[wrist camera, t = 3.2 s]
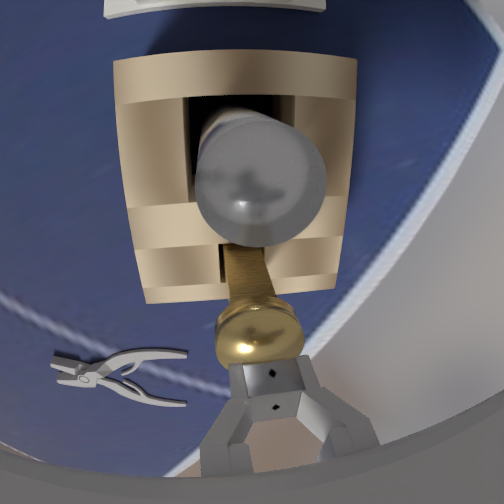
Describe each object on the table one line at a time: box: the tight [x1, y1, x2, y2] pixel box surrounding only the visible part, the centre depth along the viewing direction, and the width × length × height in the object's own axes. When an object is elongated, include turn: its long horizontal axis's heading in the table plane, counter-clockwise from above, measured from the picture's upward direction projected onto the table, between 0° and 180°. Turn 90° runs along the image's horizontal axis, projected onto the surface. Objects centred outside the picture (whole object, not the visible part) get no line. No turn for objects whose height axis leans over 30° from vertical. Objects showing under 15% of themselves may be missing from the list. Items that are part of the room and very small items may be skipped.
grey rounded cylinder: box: [195, 104, 327, 247], centre depth 14 cm, size 4×4×12 cm
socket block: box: [113, 49, 357, 304], centre depth 18 cm, size 12×14×6 cm
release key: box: [215, 243, 305, 370], centre depth 16 cm, size 4×4×8 cm
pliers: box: [51, 349, 187, 407], centre depth 29 cm, size 10×2×15 cm
